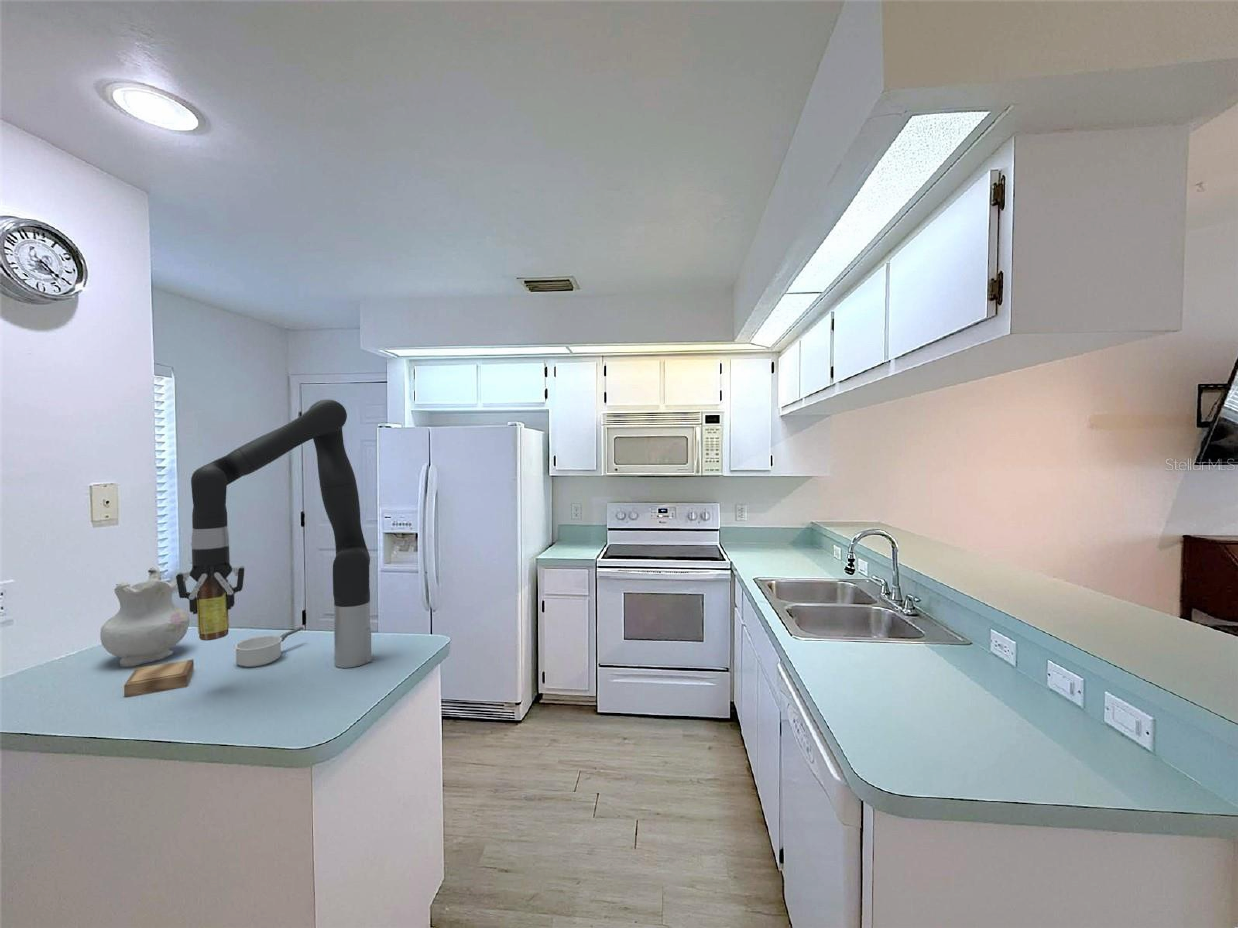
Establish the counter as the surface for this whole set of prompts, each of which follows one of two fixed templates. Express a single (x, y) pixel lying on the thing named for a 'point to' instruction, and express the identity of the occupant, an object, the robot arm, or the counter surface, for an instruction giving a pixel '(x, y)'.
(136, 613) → the ceramic pitcher
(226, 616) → the sauce bottle
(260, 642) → the saucepan
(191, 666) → the walnut base block
